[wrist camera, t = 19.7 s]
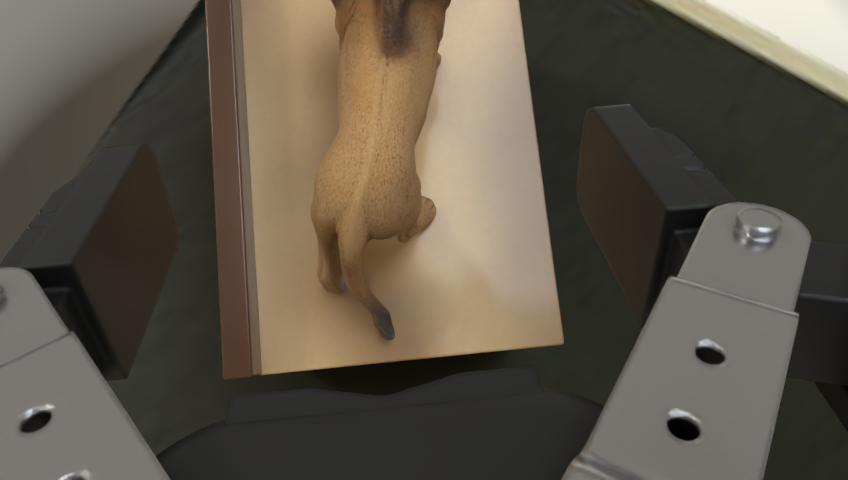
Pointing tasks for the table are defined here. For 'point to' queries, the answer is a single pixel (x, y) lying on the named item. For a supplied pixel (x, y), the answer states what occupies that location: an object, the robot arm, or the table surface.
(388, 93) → the lion figurine
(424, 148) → the rack
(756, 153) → the table surface
